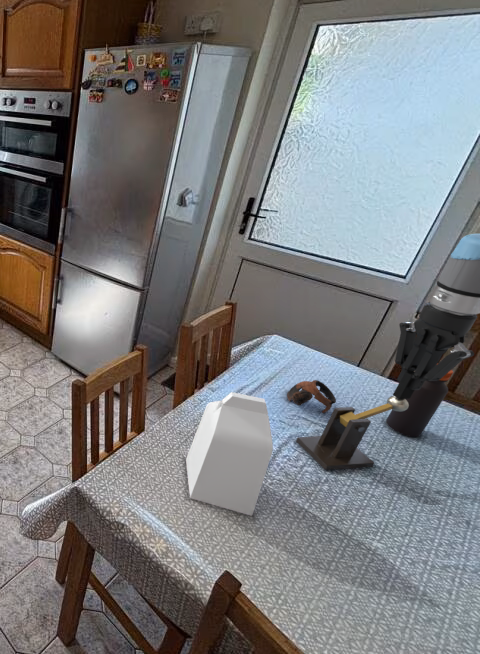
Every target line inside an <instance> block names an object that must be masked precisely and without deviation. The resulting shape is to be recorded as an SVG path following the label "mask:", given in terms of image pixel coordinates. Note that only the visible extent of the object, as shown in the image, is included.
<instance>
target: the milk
mask: <svg viewBox="0 0 480 654" xmlns="http://www.w3.org/2000/svg"><path fill="white" fill-rule="evenodd" d="M265 399H266V398H262V397H259V396H258V397H257V396H253V395H247V394H243V393H238V392H233V391H231V392H230V393H229V394H227V395H226V396H225V397H224V398H223V399H221V400H217V401H210V402H208V403H207V404H206V406H205V408H204V411H203V414H202V416H201V419H200V422H199V424H198V426H197V428H196V432H195V435H194V437H193V440H192V442H191V446H190V448H189V451H188V453H187V455H186V458H185V462H186V473H187V481H188V492H189V498H190V499H191V500H196V501H198V502H202V503H205V504H209V505H213V506H216V507H219V508H223V509H227V510H230V511H233V512H237V513H241V514H244V515H247V516H250V517H253V514H254V512H255V508H256V506H257V502H258V499H259V497H260V496H259V495H260V492H261V489H262V487H263V483H264V480H265V476H266V474H267V471H268V468H269V464H270V461H271V457H272V455H273V451H274V450H273V449H274V445H273V444H274V443H273V435H272V430H271V422H270V417H269V411H268V407H267V402H266V400H265Z"/></svg>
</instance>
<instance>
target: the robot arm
mask: <svg viewBox="0 0 480 654" xmlns="http://www.w3.org/2000/svg"><path fill="white" fill-rule="evenodd" d="M427 301H428V302H425V303H424V305H423V307H422V309H421V311H420V312H419V315H418V319H416V320H415V321H414V322H413V321H407V322H406V321H405V322H400V323H399V324H398V325H399V331H400V335H399V340H398V343H397V350H396V353H395V359H394V362H395V364H396V365H399V366H400V367H401V370H400V373H399V375H398V377H397V378H396V381H397V382H399V383H398V385H397V386H396V388H395V390H394V391H393V392H392V396H395V397H397V398H398V399H410V397H411V396H412V394H413V392H414V391H415V390H419V389H421V387H422V385H423V384H424V382H425V381H438V380H440V379H441V378H442V377H444V376H445V375H446V374H447V373H448V372H449V371H451V370H452V371H453V370H454V368H455V367H457V366H458V365H459V364H460V363H461V362H463V360H466V359H468V358H472V357H474V356H475V351H473V350H469V349H467V347H466V346H465V345H464V343H465V342H466V341H465V340H466V339H465V336H466V334H467V333H468V332H469V331H471V329H472V327H473V325H474V324H475V322H476V320H477V319H478V315H479V314H480V233H470V234H466V235H465V236H463V237H462V238H461V239H460V240H459V242H458V244H456V247H455V249H454V250H453V252H451V254H450V256H449V258H448V259H447V262H446V264H445V265H444V267H443V269H442V272H441V274H440V275H439V278H438V280H437V281H436V283H435V285H434V287H433V289H432V291H431V292H430V295H429V297H428V298H427ZM452 348H453V349H452ZM449 349H451V350H450V353H449V354H448V355H446V356H444V357H443V355H444V354H445V353H446V352H447V351H448V350H449ZM442 357H443V359H442V360H441V358H442ZM437 363H438V364H437Z"/></svg>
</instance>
